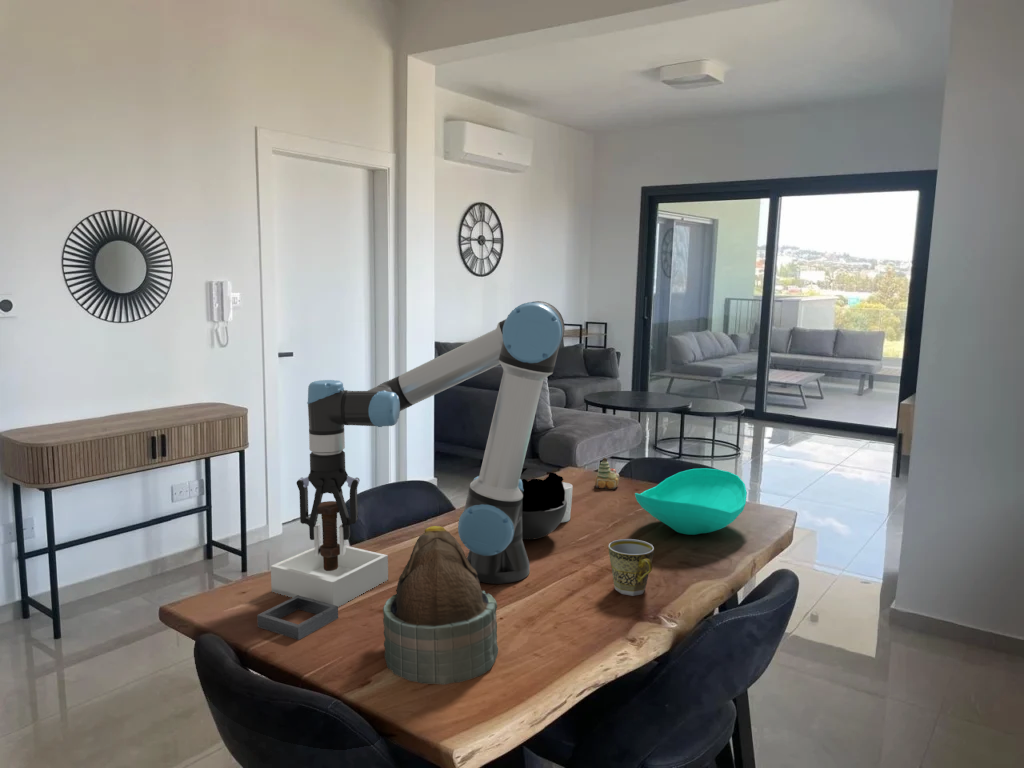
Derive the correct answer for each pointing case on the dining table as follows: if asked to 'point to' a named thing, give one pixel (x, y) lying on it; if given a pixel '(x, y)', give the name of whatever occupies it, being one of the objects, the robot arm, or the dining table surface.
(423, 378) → the robot arm
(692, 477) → the table top decor
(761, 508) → the dining table surface
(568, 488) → the white cup
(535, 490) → the bowl of black rocks
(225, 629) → the dining table surface
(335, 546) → the bolt
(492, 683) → the dining table surface
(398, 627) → the decorative pot
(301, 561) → the bin
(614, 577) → the ceramic cup
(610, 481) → the ornament
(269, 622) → the socket collar
